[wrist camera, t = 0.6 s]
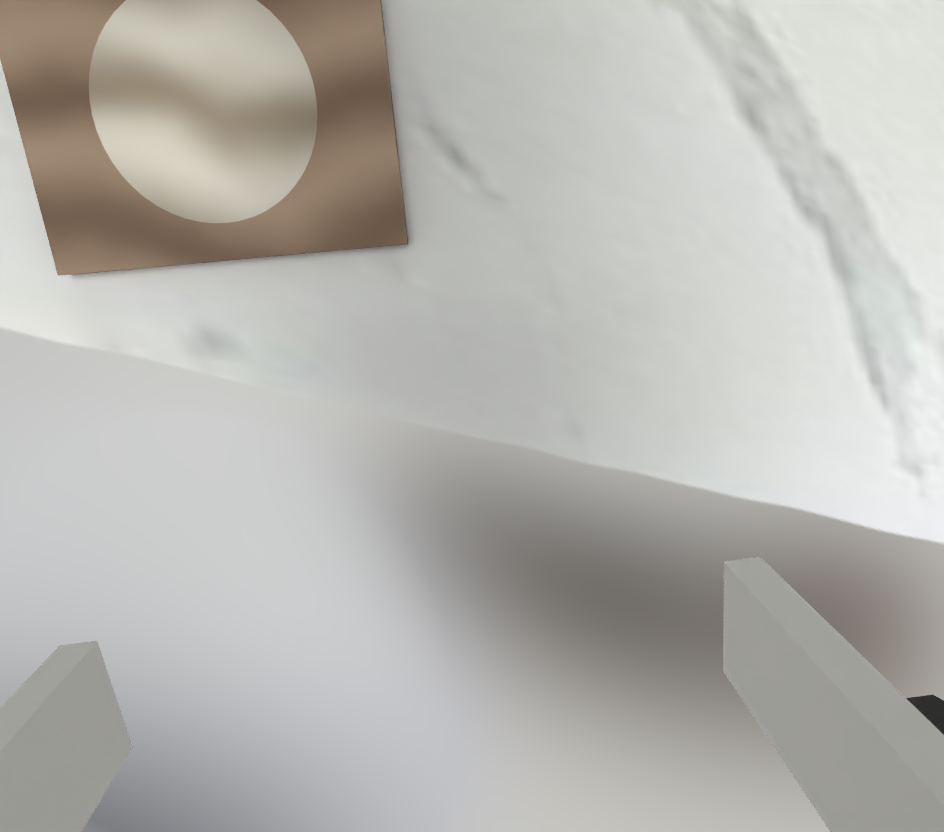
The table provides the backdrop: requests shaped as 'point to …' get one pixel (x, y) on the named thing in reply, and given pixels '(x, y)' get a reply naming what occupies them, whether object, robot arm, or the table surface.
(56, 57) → the board
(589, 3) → the table surface
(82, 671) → the robot arm
